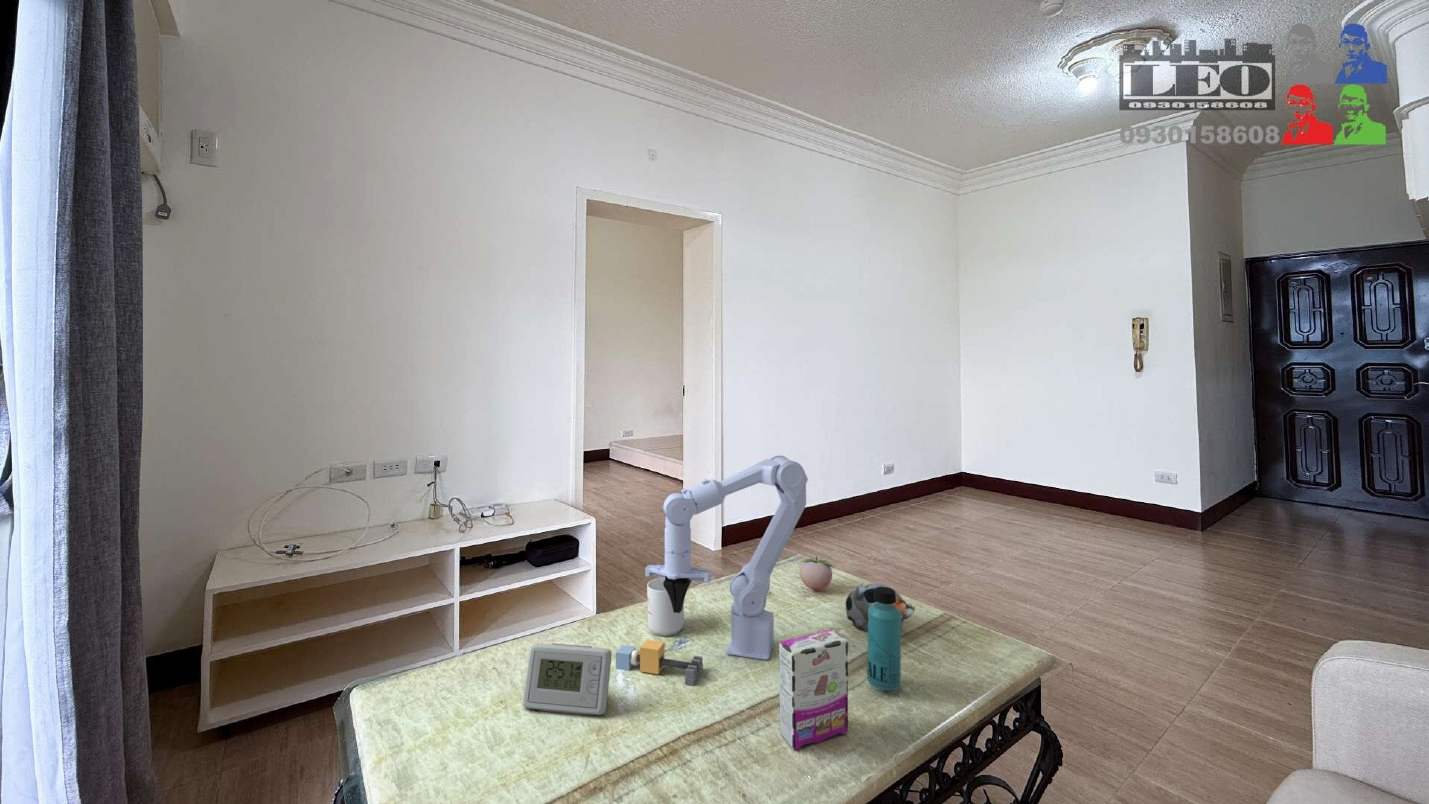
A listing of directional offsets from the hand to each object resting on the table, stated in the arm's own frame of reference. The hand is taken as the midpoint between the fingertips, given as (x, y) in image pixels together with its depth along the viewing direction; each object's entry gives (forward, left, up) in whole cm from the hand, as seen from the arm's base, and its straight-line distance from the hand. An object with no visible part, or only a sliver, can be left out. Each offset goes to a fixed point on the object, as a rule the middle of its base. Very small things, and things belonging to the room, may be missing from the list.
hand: (677, 610), depth 117 cm
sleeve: (+3, +7, -10) cm, 13 cm away
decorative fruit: (-26, -44, -10) cm, 52 cm away
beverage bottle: (-43, +1, -10) cm, 44 cm away
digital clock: (+14, +23, -10) cm, 28 cm away
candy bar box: (-31, +18, -10) cm, 37 cm away
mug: (+8, -12, -10) cm, 18 cm away
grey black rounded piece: (-43, -27, -10) cm, 52 cm away
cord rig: (+1, +7, -10) cm, 12 cm away
